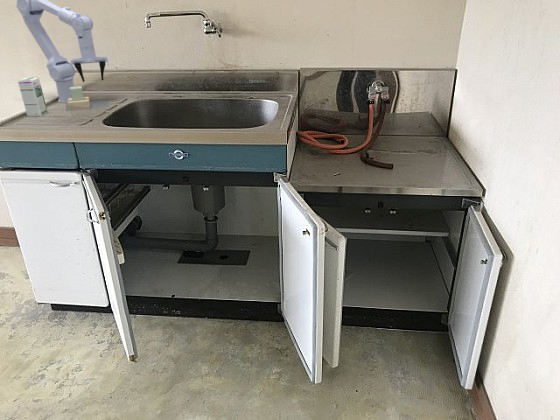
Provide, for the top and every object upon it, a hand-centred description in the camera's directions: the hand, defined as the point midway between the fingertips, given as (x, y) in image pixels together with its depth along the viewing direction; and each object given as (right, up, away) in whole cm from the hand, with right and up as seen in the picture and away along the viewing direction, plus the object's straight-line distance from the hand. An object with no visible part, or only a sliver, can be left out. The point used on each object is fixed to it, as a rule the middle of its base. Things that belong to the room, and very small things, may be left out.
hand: (93, 80), depth 203 cm
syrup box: (-17, -18, -14) cm, 28 cm away
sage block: (-4, -10, -6) cm, 12 cm away
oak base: (-4, -12, -5) cm, 14 cm away
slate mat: (-1, -12, -2) cm, 12 cm away
